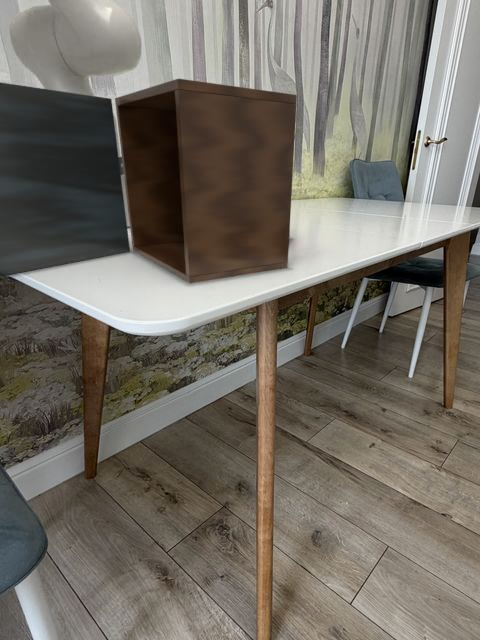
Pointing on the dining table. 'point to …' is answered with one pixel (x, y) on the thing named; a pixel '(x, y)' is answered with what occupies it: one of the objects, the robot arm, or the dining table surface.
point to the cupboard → (208, 177)
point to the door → (58, 179)
